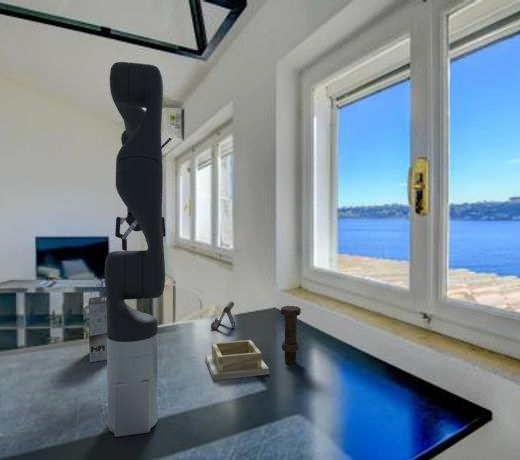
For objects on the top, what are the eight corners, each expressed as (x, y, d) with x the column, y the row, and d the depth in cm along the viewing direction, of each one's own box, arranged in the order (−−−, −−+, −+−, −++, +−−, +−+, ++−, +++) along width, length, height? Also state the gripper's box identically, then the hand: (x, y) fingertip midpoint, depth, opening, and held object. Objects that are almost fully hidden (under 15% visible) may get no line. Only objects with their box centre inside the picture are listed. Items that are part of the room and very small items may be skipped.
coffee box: (114, 359, 108) (113, 301, 108) (89, 362, 106) (88, 303, 105) (112, 348, 117) (112, 295, 116) (89, 351, 114) (88, 297, 113)
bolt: (304, 362, 106) (305, 308, 106) (293, 367, 103) (293, 311, 102) (287, 357, 110) (288, 304, 110) (276, 362, 107) (276, 307, 106)
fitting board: (268, 374, 99) (268, 354, 98) (213, 380, 95) (213, 360, 95) (254, 354, 112) (254, 337, 112) (205, 359, 108) (205, 341, 108)
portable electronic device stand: (216, 323, 145) (216, 300, 145) (237, 324, 144) (237, 301, 144) (210, 330, 136) (210, 306, 136) (233, 331, 135) (233, 307, 135)
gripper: (114, 196, 111) (115, 253, 111) (166, 197, 115) (166, 252, 116) (115, 197, 118) (115, 251, 118) (164, 198, 122) (164, 250, 123)
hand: (140, 251), depth 117 cm, fingers open, 8 cm apart
